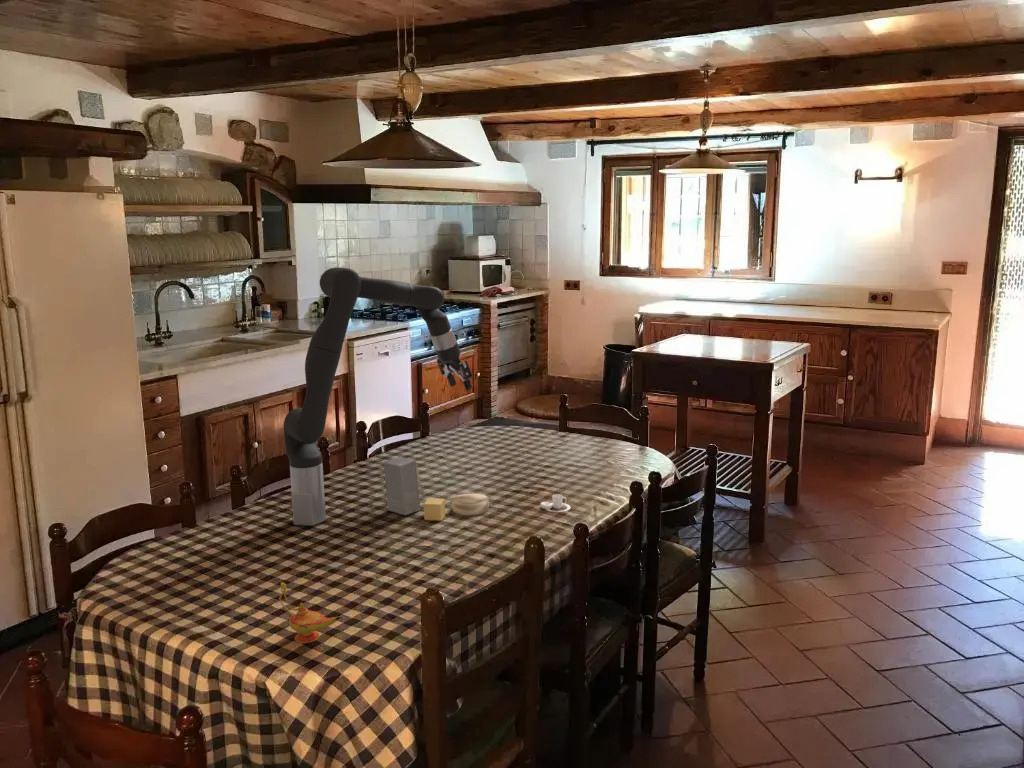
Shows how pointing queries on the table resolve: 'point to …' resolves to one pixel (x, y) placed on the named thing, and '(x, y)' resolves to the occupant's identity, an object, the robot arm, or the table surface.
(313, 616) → the magic lamp
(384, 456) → the table surface
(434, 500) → the ochre block
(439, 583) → the table surface
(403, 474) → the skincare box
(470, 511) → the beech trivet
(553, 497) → the teacup and saucer
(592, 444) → the table surface
